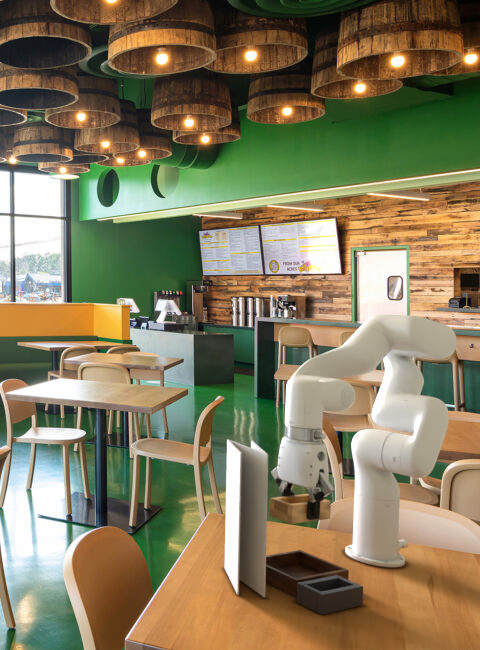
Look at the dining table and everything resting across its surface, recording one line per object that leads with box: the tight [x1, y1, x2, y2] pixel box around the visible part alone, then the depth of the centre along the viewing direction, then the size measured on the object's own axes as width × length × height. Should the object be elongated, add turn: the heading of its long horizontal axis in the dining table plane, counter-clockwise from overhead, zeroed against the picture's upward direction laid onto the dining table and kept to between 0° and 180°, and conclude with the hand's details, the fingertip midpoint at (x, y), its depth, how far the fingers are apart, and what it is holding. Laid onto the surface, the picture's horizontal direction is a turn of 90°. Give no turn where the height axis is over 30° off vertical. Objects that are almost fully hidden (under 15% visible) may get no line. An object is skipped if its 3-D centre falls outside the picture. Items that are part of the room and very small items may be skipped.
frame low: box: [295, 575, 364, 615], centre depth 137 cm, size 12×6×4 cm, turn 114°
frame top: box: [268, 493, 332, 525], centre depth 149 cm, size 12×6×4 cm, turn 114°
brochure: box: [223, 439, 269, 598], centre depth 146 cm, size 14×6×30 cm, turn 169°
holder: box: [265, 549, 350, 598], centre depth 149 cm, size 16×13×4 cm
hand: (299, 513), depth 149 cm, fingers closed on frame top, 6 cm apart
